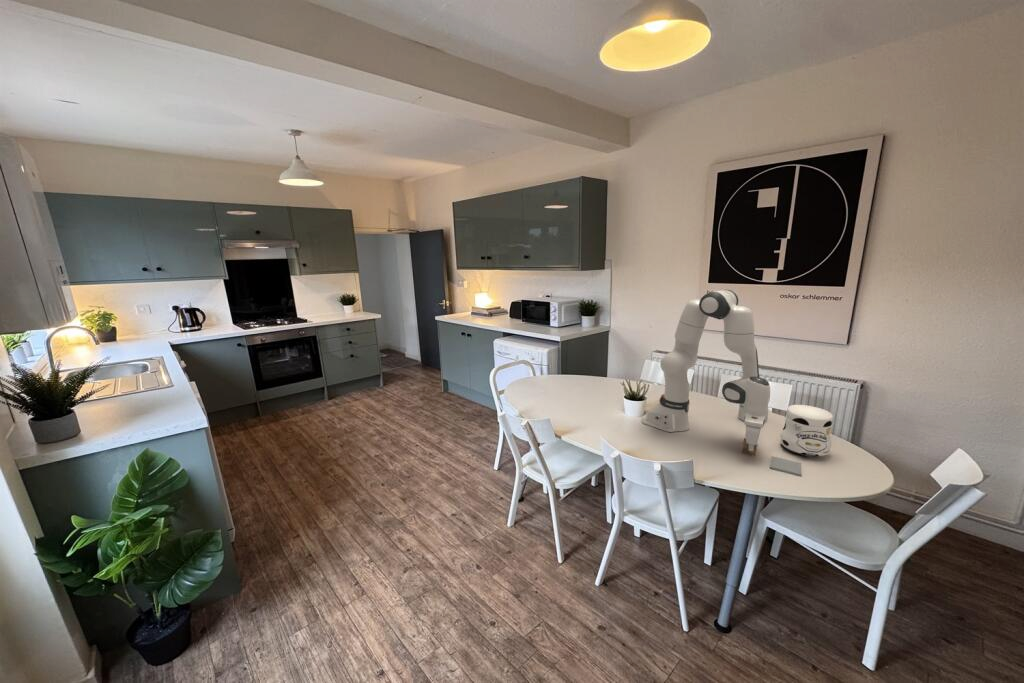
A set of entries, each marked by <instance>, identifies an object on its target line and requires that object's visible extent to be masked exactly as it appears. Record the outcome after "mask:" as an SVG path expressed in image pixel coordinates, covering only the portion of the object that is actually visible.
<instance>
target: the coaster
mask: <svg viewBox="0 0 1024 683" xmlns="http://www.w3.org/2000/svg"><path fill="white" fill-rule="evenodd" d="M769 469H770V470H774V471H779V472H783V473H785V474H786V473H787V474H790V475H794V476H798V477H802V475H803V474H802V463H801V462H798V461H794V460H791V459H786V458H783V457H778V456H773V455H771V456H770V465H769Z"/></svg>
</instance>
